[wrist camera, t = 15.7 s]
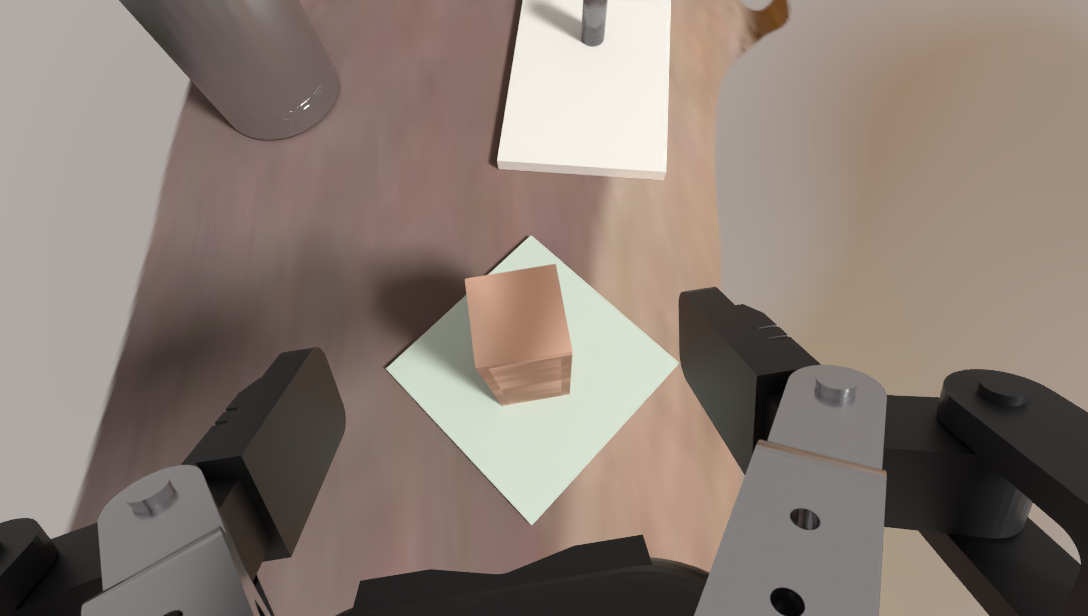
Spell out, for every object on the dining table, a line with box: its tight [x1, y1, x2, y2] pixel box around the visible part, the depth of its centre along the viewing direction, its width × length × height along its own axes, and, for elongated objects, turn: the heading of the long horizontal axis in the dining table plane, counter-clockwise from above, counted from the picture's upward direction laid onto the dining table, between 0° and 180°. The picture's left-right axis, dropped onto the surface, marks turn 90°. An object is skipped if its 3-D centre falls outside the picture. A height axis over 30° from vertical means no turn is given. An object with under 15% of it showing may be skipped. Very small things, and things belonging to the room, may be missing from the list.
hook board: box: [497, 0, 671, 180], centre depth 38 cm, size 24×12×7 cm, turn 174°
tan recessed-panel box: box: [465, 264, 573, 406], centre depth 27 cm, size 4×4×10 cm
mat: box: [386, 236, 679, 525], centre depth 32 cm, size 13×13×1 cm
